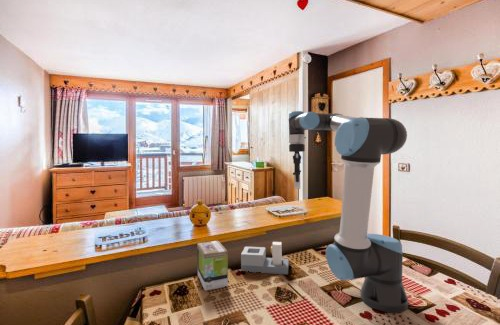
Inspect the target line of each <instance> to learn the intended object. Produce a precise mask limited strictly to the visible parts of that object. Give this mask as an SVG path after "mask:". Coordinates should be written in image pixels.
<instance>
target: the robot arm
mask: <svg viewBox="0 0 500 325" xmlns="http://www.w3.org/2000/svg"><path fill="white" fill-rule="evenodd" d="M287 120H288V143H289V144H288V150H289V152H290V153H292V152H293V153H294V154H293V155H292V160H293V164H294V166H293V167H294V172H292V175H293V176H294V177H293V179H294V182H293V184H294V188H293V189H295V190H300V189H301V172H302V170H301V165H300V164H301V163H302V162H301V159H302V155H301V154H300V152H303V153H304V152H305V150H306V149H305V139H306V136H305V134H306V133H305V131H307V130H308V131H315V130H316V131H333V132H336V133H335V135H334V136H335V137H334V146H335V151H336V152H337V153H338V154H339V155H340V159H341V161H342V162H343V163H344V165H345V169H344V180H343V190H342V200H341V201H342V202H341V203H342V204H341V214H340V222H339V223H340V224H339V231H338V233H336V234H335V235H334V237H333V238H334V239H333V241H334V242H333V243H331V244H329V245H327V247H326V249H325V256H326V257H325V258H326V261H327V265H328V268H329V269H330V271H331V273H332V274H333V275H334V277H336V278H337V279H338V280H340V281H353V280H355V279H361V278H362V279H363V278H364V281H363V283H362V286H361V289H360V298H361V300H362V302H363V303H364V304H365V305H367V306H369V308H372V309H374V310H377V311H381V312H385V313H392V314H397V313H398V314H399V313H403V312H405V311H406V310H407V309H408V308H409V299H408V295H407V293H406V290H405V288H404V287H405V286H404V284H403V260H404V259H403V255H404V253H403V245H402V243H401V241H400V240H398V239H397V238H395V237H391V236H387V235H384V234H379V233H368V229H369V228H368V227H369V221H370V208H371V200H372V193H373V190H372V189H373V185H374V184H373V183H374V172H375V167H376V166H377V165H379V164H380V163H381V160H382V159H381V158H382V155H390V154H393V153H396V152H398V151H399V150H401V148H403V146H404V145H405V144H406V141H407V137H408V131H407V129H406V127H405V125H404V124H403V123H402V122H401V121H399V120H397V119H396V118H395V119H394V118H389V117H388V118H387V117H386V118H385V117H384V118H382V117H363V116H360V117H355V116H349V115H344V114H341V113H323V112H321V113H320V112H319V113H317V112H314V111H306V112H304V111H302V110H301V111H300V110H297V111H295V110H293V111H290V112H289V113H288V119H287Z"/></svg>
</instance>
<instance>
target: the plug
mask: <svg viewBox="0 0 500 325" xmlns="http://www.w3.org/2000/svg"><path fill="white" fill-rule="evenodd" d="M282 245H283V244H282V241H272V243H271V246H270V253H271V255H272V257H271V258H272V262H273V265H282V258H283V254H282V253H283V251H282V247H283V246H282Z"/></svg>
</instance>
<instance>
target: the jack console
mask: <svg viewBox="0 0 500 325" xmlns="http://www.w3.org/2000/svg"><path fill="white" fill-rule="evenodd" d="M266 255H267V254H266V247H264V246H244V247H243V250H242V251H241V253H240V266H241V267H240V271H247V272H246V273H256V272H261V274H274V275H278V274H279V275H288V274H289V264H290V262H289V258H284V257H282V265H273V262H272V257H266ZM248 271H249V272H248Z"/></svg>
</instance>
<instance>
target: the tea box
mask: <svg viewBox="0 0 500 325" xmlns="http://www.w3.org/2000/svg"><path fill="white" fill-rule="evenodd" d="M196 247H197V248H196V250H197V251H196V252H197V254H196V255H197V258H196V259H197V278H199V280H200V284H201V286H202V287H203V288H202V289H203V290H204V291H211V290H215V289H220V288H221V289H222V288H225V286H226V287H228V284H229V280H228V279H229V278H228V277H229V276H228V272H229V270H228V267H229V266H228V265H229V264H228V260H229V259H228V258H229V255H228V250H227V248H225V246H224V245H223V244H222V243H221V242H220V241H219V240H213V241H212V240H211V241H205V242H204V241H203V242H198V243H197V246H196Z"/></svg>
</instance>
